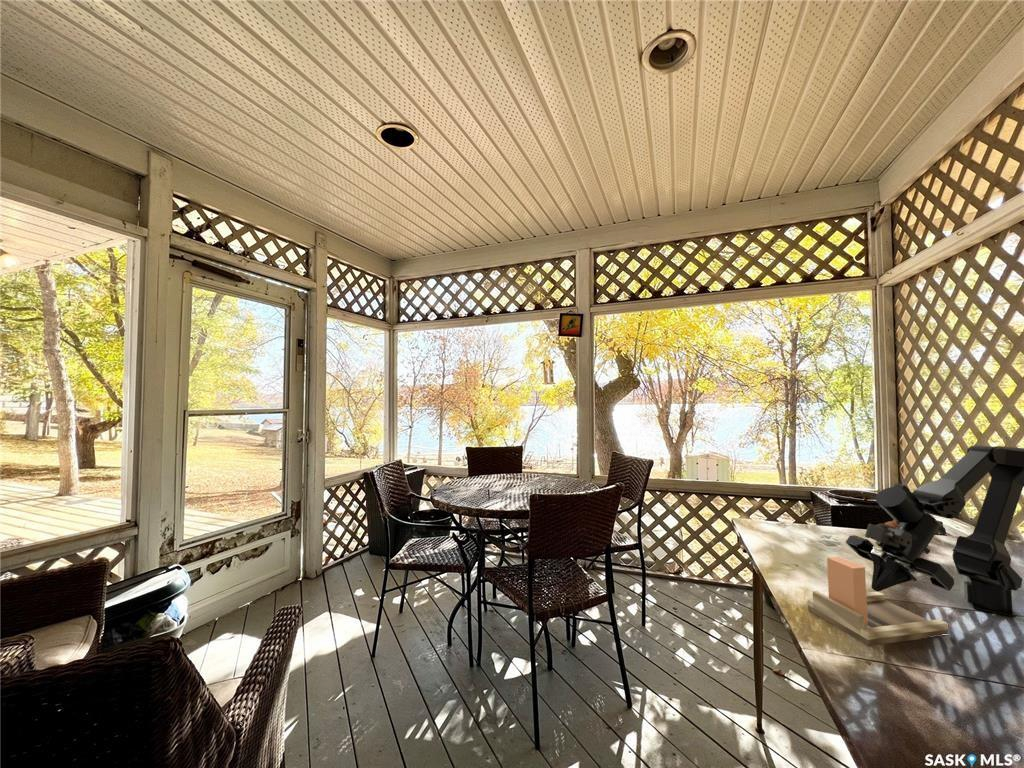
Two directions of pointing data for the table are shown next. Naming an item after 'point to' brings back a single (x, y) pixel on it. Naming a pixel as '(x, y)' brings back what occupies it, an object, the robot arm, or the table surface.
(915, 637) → the open-ended rail tray
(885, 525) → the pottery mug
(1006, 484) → the robot arm
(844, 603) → the tall block
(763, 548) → the table surface
